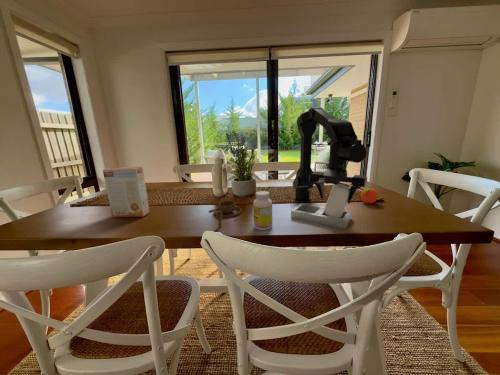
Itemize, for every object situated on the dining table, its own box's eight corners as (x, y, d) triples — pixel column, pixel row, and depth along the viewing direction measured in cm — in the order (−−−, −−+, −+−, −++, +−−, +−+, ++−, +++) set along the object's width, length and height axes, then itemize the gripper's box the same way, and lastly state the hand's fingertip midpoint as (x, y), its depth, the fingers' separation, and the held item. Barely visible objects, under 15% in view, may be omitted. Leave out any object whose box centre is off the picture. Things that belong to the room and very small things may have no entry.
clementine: (369, 207, 94) (370, 191, 92) (355, 202, 100) (356, 188, 98) (380, 203, 98) (382, 188, 96) (366, 199, 104) (367, 185, 102)
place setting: (252, 213, 94) (252, 200, 93) (221, 230, 78) (220, 215, 77) (222, 206, 104) (221, 194, 102) (189, 221, 88) (187, 207, 87)
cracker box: (150, 212, 98) (143, 166, 92) (143, 217, 92) (135, 168, 87) (120, 212, 99) (111, 167, 93) (111, 217, 93) (101, 169, 88)
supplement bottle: (253, 223, 81) (252, 190, 78) (270, 222, 82) (270, 189, 79) (255, 231, 75) (253, 195, 72) (274, 230, 76) (273, 194, 72)
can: (342, 220, 78) (354, 191, 74) (323, 215, 79) (334, 186, 75) (340, 213, 84) (351, 184, 79) (323, 208, 85) (333, 180, 81)
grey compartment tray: (291, 217, 86) (291, 210, 85) (301, 209, 94) (301, 203, 93) (344, 229, 74) (345, 220, 74) (351, 218, 83) (351, 211, 82)
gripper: (303, 160, 75) (302, 204, 78) (364, 163, 64) (359, 213, 68) (314, 157, 83) (313, 196, 87) (369, 159, 73) (365, 203, 77)
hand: (335, 201), depth 80 cm, fingers open, 9 cm apart
